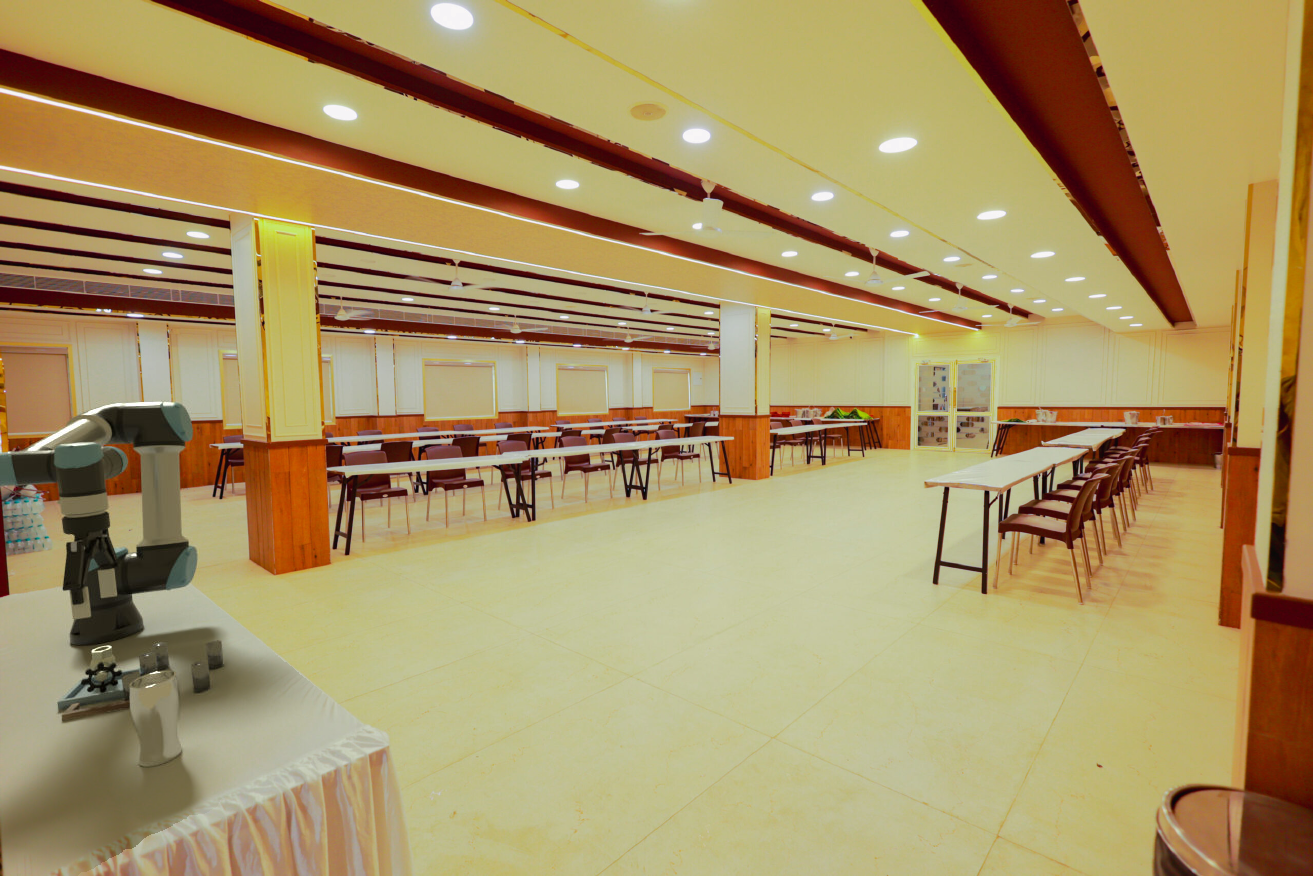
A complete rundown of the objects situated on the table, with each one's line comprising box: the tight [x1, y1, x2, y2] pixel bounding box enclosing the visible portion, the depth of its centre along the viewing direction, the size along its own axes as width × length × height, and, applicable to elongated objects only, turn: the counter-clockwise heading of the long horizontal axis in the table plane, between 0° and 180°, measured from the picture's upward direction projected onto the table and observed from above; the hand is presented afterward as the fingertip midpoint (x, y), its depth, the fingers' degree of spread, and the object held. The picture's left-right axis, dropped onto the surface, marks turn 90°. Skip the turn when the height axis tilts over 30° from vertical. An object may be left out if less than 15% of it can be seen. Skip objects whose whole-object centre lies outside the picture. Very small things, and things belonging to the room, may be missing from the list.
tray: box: [57, 667, 141, 711], centre depth 134 cm, size 12×12×2 cm
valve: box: [80, 645, 123, 693], centre depth 134 cm, size 7×7×12 cm
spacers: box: [122, 639, 224, 701], centre depth 139 cm, size 20×16×6 cm
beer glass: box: [129, 670, 183, 768], centre depth 109 cm, size 7×7×15 cm
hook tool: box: [61, 700, 130, 721], centre depth 128 cm, size 5×14×1 cm, turn 114°
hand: (96, 606), depth 133 cm, fingers open, 13 cm apart
